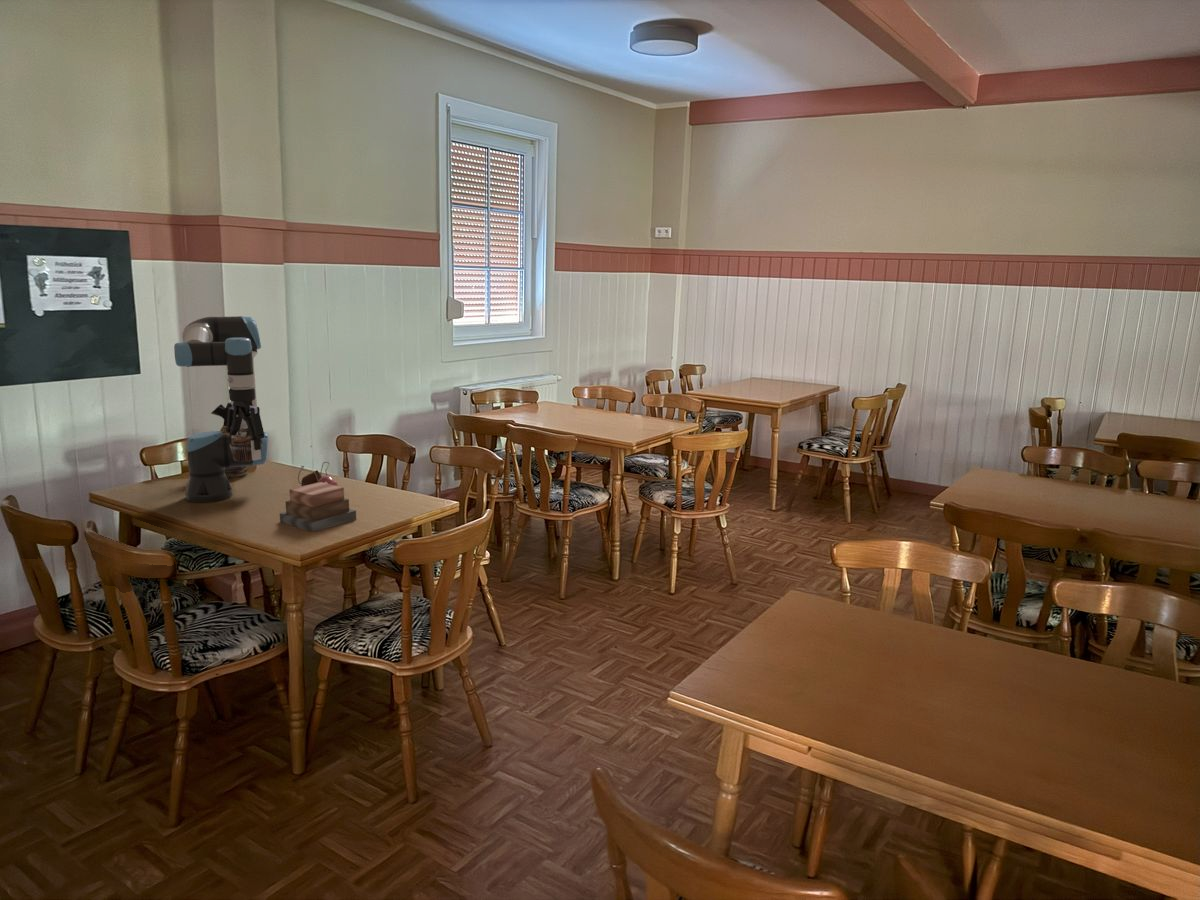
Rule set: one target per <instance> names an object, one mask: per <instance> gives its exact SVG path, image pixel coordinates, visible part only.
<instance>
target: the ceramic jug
mask: <svg viewBox="0 0 1200 900" xmlns="http://www.w3.org/2000/svg"><path fill="white" fill-rule="evenodd" d="M228 403H231V401H230V402H228ZM210 414H212V415H215V416H218V417H221V418H222V419H223V425H222V427H221V428H220V430H219V431H221V432H222V434H223V435H229V432H227V431H226V426H227V414H228V408H227V405H226V407H225V406H224V405H223V404H219V405H217V406H216V407H215V409H214V410H212V411H211V412H210ZM230 428H231V427H230ZM250 467H251V466H240V467H225V475H226V477H227V478H238V477H241V476H245V475H247V474H248V470H249V469H250Z"/></svg>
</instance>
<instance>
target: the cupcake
mask: <svg viewBox="0 0 1200 900" xmlns="http://www.w3.org/2000/svg"><path fill="white" fill-rule="evenodd" d="M250 439H252V437H251V434H250V432H249V429H248V428H247V429H246V430H245V429H242V428H241V429H240V430H239V431H238V432H237V434H236V435H235V436H234V437H233V438H232V443H231V444H230V449H231V452H232V455H233V459H234V461H238V462H248V461H253V460H252V452H251V440H250ZM261 439H262V438H261ZM261 439H260V445H261V450H262V444H263V442H262V440H261ZM254 461H255V460H254Z"/></svg>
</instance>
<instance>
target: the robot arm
mask: <svg viewBox="0 0 1200 900" xmlns="http://www.w3.org/2000/svg"><path fill="white" fill-rule="evenodd" d="M181 335H182V341H181V342H176V343H174V349H173V350H174V351H173V352H174V362H175V365H176V366H177V367H186V368H190V367H207V366H209V367H212V366H213V367H214V366H215V367H217V366H218V367H220V366H222V367H223V366H226V370H227V371H226V372H227V382H228V383H227V384H228V385H227V386H228V387H229V389H228V399H229V401H230V402H231V403H229V402H227V404H226V406H227V408H228V414H227V426H226V431H227V432H229V435H223V434H222V432H221V431H220V430H210V431H204V432H200V433H196V434H192V435H191V436H189V437H188V438H187V439H186V452H187V453H186V454H187V463H188V465H187V466H188V474H189V475H188V476H189V478H188V482H187V486H186V489H185V500H187V502H190V503H191V502H192V503H213V502H219V501H222V500H223V501H224V500H226V499H229V498H231V497H232V496H233V489H232V486H231V484H230V482H229V480H228V477H226V475H225V467H240V466H250V467H254V466H261V465H265V463H266V462H267V456H268V440H269V434H268V432H265V431H264V427H263V422H262V419H261V413H260V410H261V409H260V407H259V406H258V403H257V400H258V399H257V391H256V390H257V389H256V378H255V376H256V374H255V364H254V363H255V361H254V358H255V357H256V356H257V355H258V350H260V349H261V348H262V345H261V338H260V333H259V329H258V325H257V321H256V319H254V317H251V316H242V315H240V316H238V315H237V316H207V317H202V318H199V319H198V318H197V319H196V320H194V321H192V322H190V323H189V324H187V325H186V326H185V328H184V329H183V332H182V334H181ZM230 427H231V428H230ZM241 428H242V429H245V430H246V429H247V428H248V429H249V432H250V434H251V437H252V439H250V440H251V452H252V460H253V461H248V462H238V461H234V459H233V455H232V452H231V449H230V444H231V443H232V438H233V437H234V436H235V435H236V434H237V432H238V431H239V430H240V429H241ZM261 438H262V439H261ZM260 439H261V440H262V442H263V444H262V450H261V445H260ZM254 460H255V461H254Z"/></svg>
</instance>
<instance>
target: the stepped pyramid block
mask: <svg viewBox="0 0 1200 900" xmlns="http://www.w3.org/2000/svg"><path fill="white" fill-rule="evenodd" d="M285 510H286V511H283V512H279V523H282V524H285V525H289V526H293V527H295V528H298V529H302V530H305V531H308V532H312V533H314V532H318V531H321V530H325V529H328V528H331V527H334V526H338V525H342V524H345V523H348V522H352V521H355V520H357V510H355V509H352V508H350V500H349V498H346V497H345V487H343V486H335V485H331V484H328V483H327V482H325V483H323V482H318V483H314V484H309V485H305V486H296V487H293V488H289V500H286V501H285Z"/></svg>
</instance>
